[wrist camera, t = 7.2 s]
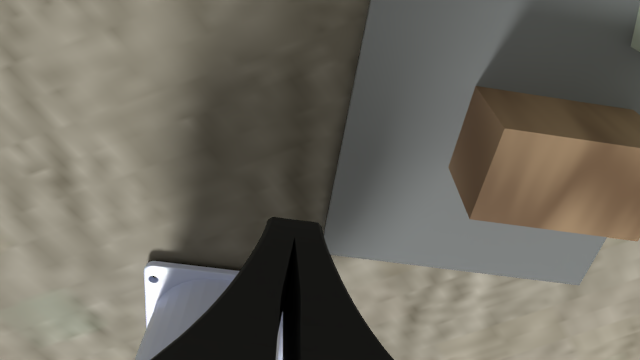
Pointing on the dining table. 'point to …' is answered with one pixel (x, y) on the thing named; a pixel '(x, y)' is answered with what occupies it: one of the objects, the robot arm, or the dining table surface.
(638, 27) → the sage block
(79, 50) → the dining table surface
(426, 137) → the mat
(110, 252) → the dining table surface
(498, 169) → the walnut block
